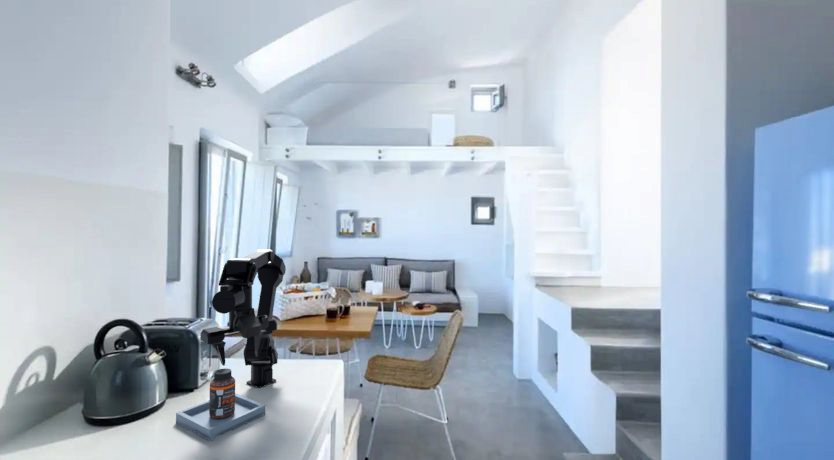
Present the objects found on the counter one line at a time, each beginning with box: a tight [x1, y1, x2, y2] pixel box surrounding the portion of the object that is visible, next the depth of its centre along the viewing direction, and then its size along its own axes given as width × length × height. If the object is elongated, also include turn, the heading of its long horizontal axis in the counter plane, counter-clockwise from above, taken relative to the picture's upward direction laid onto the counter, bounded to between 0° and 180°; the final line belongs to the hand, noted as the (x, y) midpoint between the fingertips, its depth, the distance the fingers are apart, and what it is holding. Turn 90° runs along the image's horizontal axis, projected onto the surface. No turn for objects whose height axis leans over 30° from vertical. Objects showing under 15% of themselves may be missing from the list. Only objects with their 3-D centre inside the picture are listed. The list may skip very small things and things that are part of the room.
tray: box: [175, 392, 266, 442], centre depth 102 cm, size 15×15×2 cm
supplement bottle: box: [209, 368, 236, 419], centre depth 102 cm, size 6×6×11 cm
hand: (240, 360), depth 108 cm, fingers open, 9 cm apart
